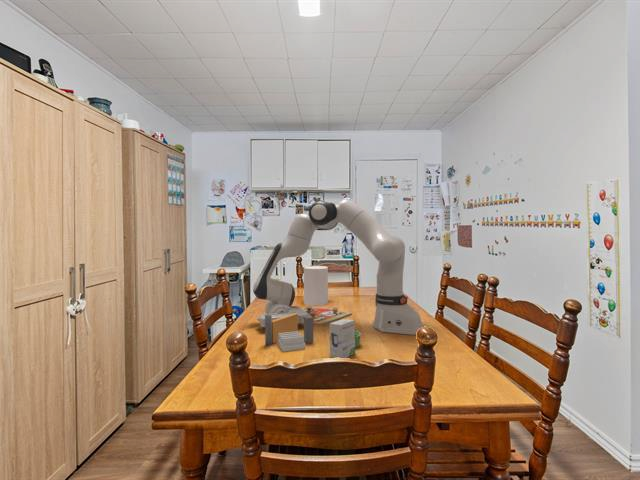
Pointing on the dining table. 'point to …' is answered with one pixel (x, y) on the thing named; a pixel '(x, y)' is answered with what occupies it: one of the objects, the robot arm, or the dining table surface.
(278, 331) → the tan wooden panel
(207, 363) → the dining table surface
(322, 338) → the dining table surface
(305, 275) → the canister
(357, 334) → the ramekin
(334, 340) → the ink box
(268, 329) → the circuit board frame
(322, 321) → the knob puzzle
